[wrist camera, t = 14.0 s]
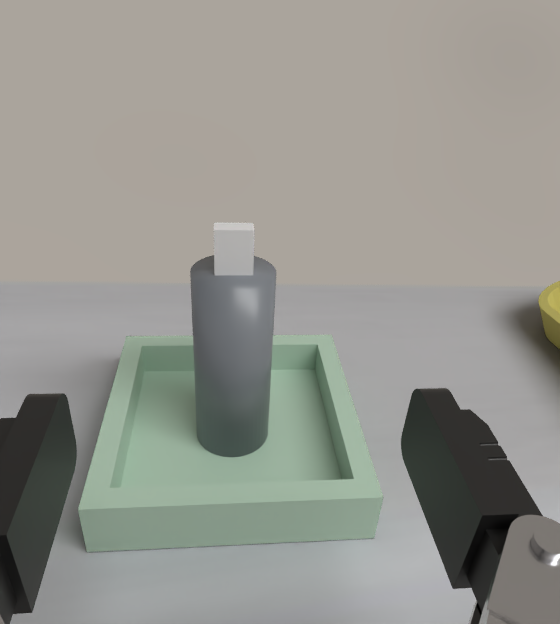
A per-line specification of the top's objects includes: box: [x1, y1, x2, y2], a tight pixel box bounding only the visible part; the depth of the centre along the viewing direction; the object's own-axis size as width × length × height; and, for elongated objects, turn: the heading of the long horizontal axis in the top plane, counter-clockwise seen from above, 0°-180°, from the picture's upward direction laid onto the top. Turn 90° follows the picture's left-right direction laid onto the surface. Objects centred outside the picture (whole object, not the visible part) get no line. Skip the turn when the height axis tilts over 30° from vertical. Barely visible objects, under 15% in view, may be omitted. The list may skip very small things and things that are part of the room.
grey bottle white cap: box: [190, 223, 276, 457], centre depth 24 cm, size 4×4×11 cm
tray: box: [78, 335, 383, 552], centre depth 27 cm, size 12×12×3 cm
